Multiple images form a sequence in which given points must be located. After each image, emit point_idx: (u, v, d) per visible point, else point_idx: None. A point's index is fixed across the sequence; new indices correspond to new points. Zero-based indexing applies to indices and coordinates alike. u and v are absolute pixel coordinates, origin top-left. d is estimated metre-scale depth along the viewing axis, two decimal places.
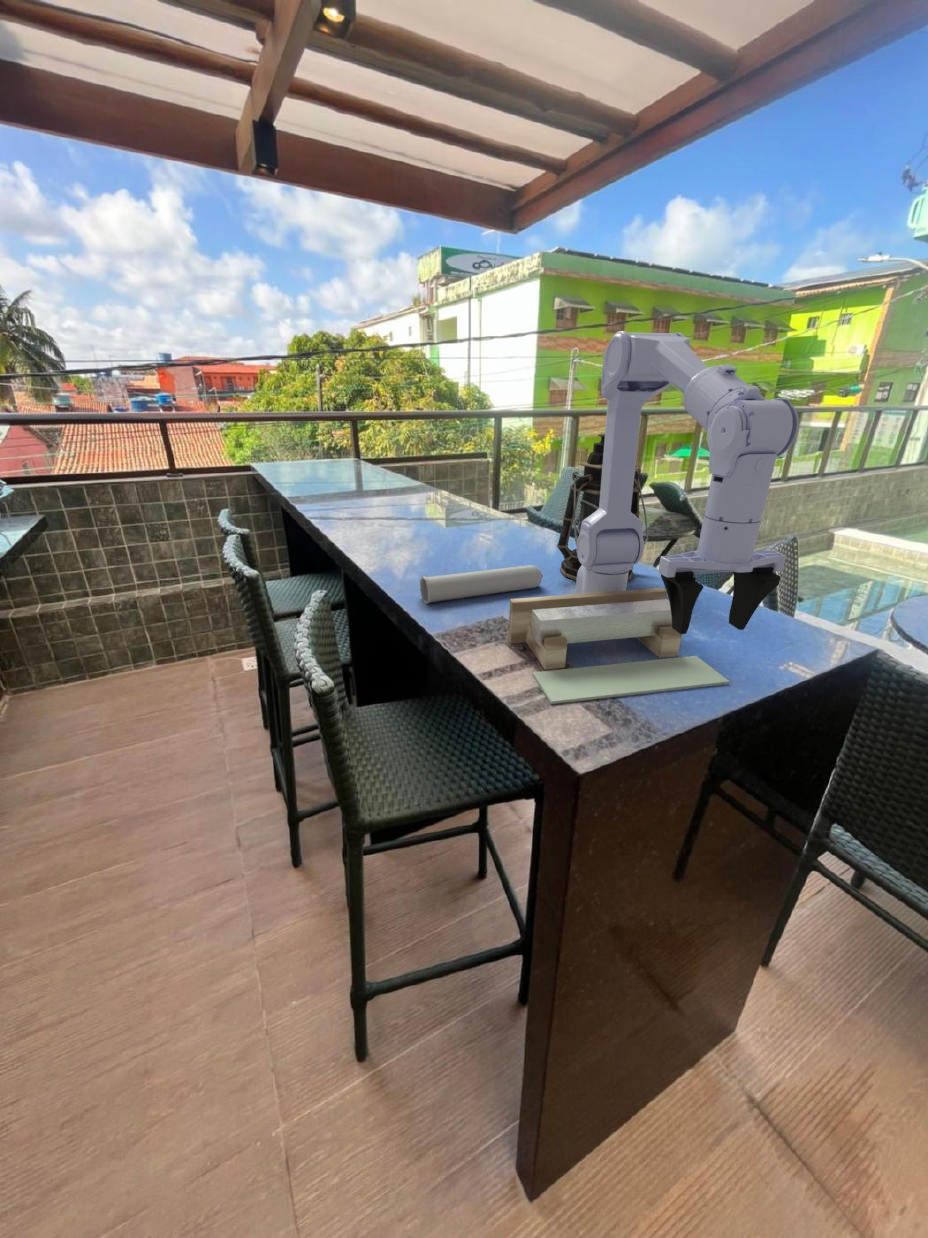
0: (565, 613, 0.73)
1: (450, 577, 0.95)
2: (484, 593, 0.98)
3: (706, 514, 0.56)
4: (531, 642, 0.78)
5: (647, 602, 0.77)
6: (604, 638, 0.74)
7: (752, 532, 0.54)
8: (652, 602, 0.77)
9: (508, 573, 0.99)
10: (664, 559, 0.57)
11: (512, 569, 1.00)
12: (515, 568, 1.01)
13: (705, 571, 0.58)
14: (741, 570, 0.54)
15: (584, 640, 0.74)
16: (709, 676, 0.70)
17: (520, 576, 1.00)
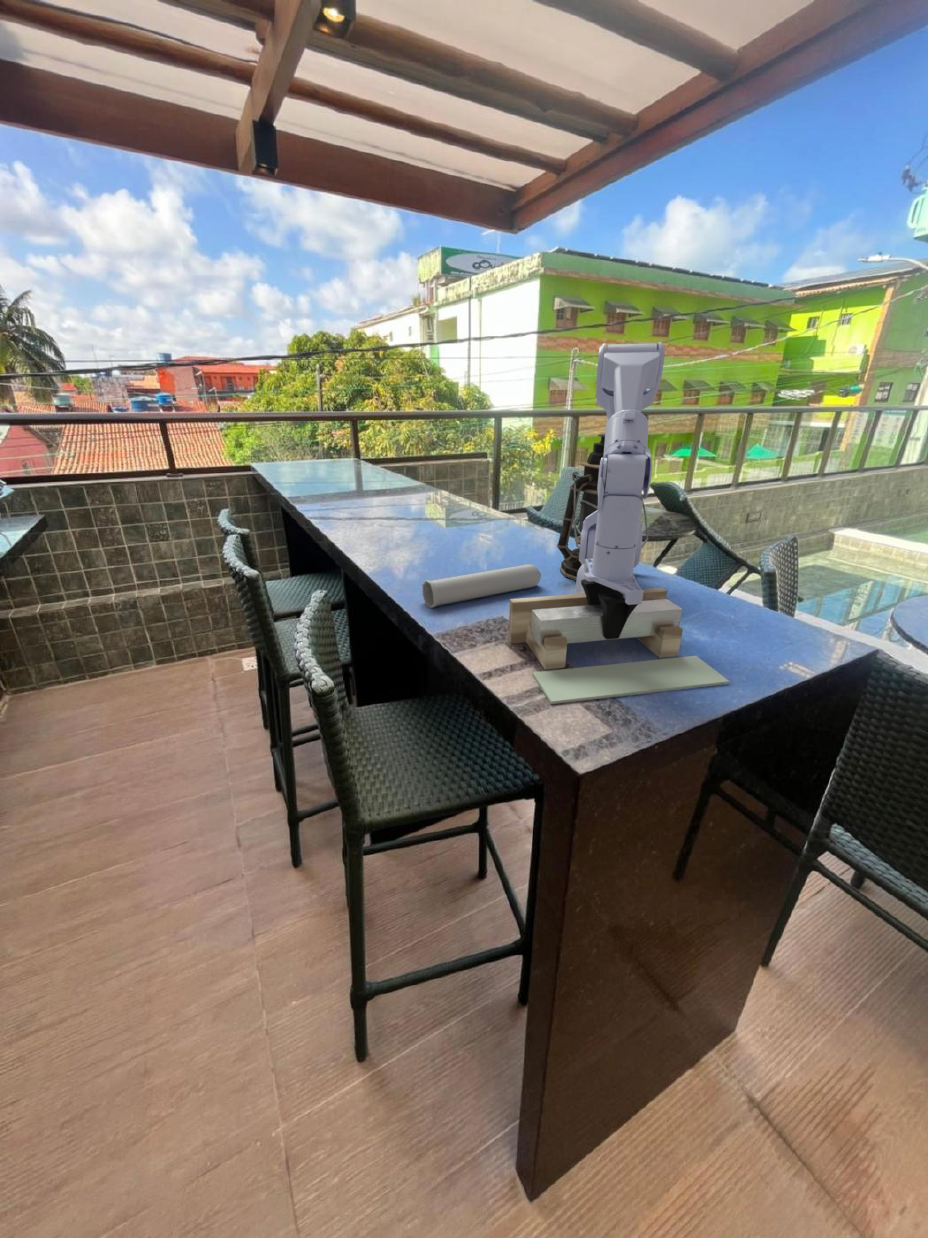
0: (565, 613, 0.73)
1: (454, 580, 0.94)
2: (487, 594, 0.98)
3: None
4: (531, 642, 0.78)
5: (647, 602, 0.77)
6: (604, 638, 0.74)
7: (599, 553, 0.70)
8: (652, 602, 0.77)
9: (509, 573, 0.99)
10: (591, 559, 0.79)
11: (512, 569, 1.00)
12: (515, 568, 1.01)
13: None
14: (583, 576, 0.72)
15: (584, 640, 0.74)
16: (709, 676, 0.70)
17: (520, 576, 1.00)
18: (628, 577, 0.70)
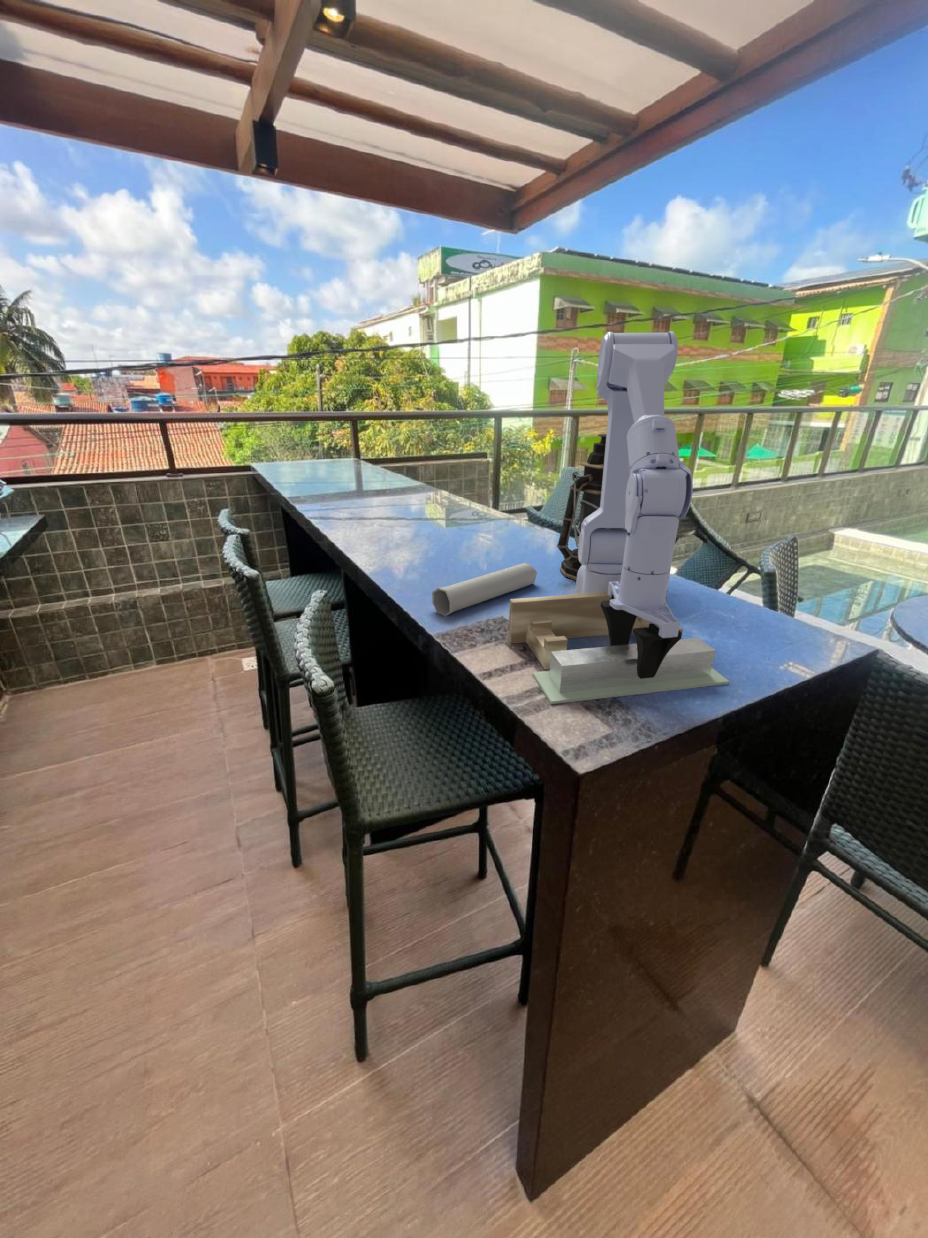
0: (588, 656, 0.67)
1: (465, 585, 0.92)
2: (493, 596, 0.97)
3: None
4: (531, 642, 0.78)
5: None
6: (630, 683, 0.68)
7: (628, 578, 0.63)
8: (682, 642, 0.71)
9: (511, 573, 0.99)
10: (615, 582, 0.72)
11: (512, 569, 1.00)
12: (514, 568, 1.01)
13: None
14: (610, 603, 0.65)
15: (609, 685, 0.67)
16: (709, 676, 0.70)
17: (521, 575, 1.00)
18: (660, 605, 0.63)
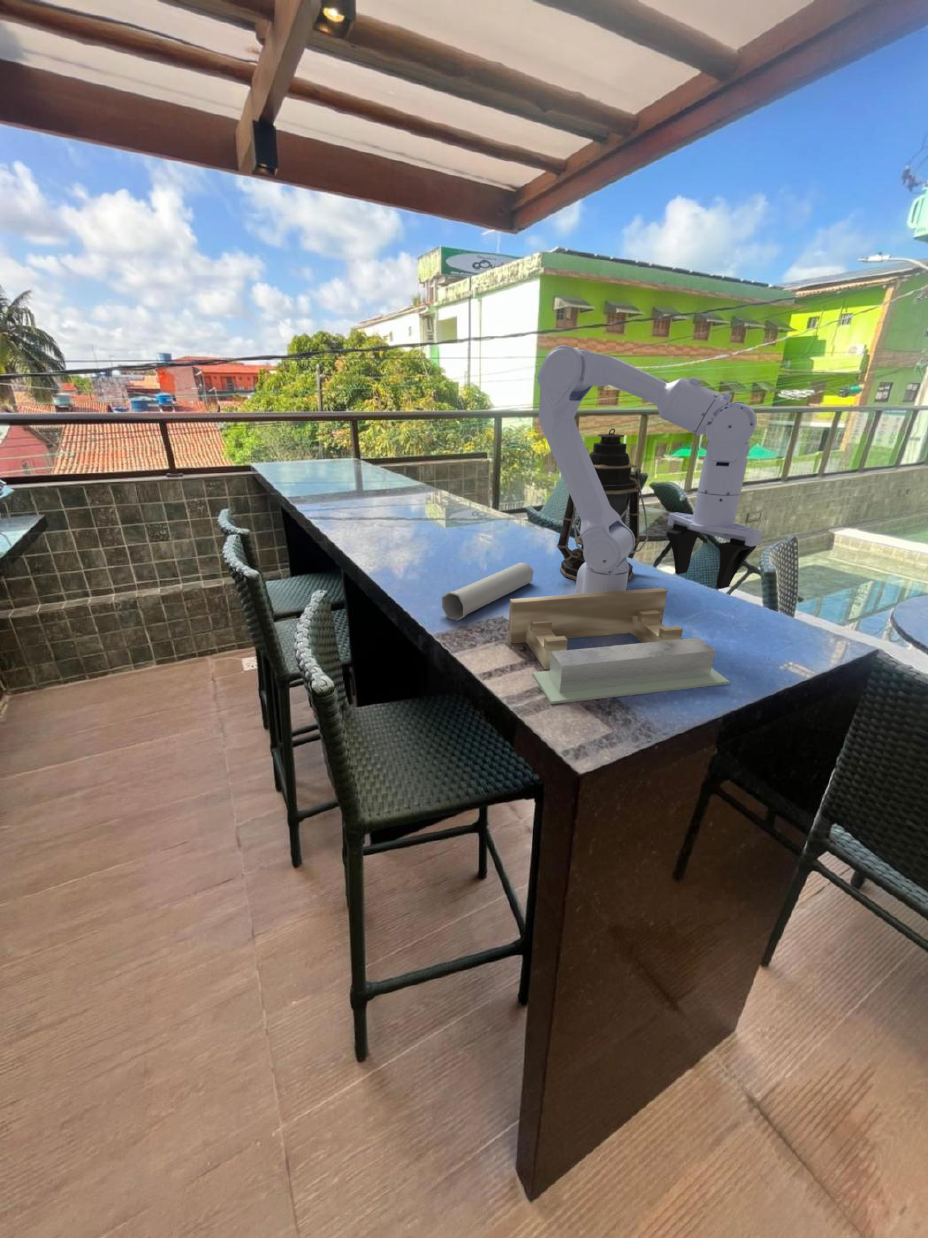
0: (588, 656, 0.67)
1: (474, 587, 0.90)
2: (498, 598, 0.96)
3: (711, 492, 0.72)
4: (531, 642, 0.78)
5: (676, 642, 0.71)
6: (630, 683, 0.68)
7: (710, 501, 0.73)
8: (682, 642, 0.71)
9: (512, 573, 0.99)
10: (673, 513, 0.82)
11: (512, 569, 1.00)
12: (513, 568, 1.01)
13: (697, 530, 0.78)
14: (691, 526, 0.75)
15: (609, 685, 0.67)
16: (709, 676, 0.70)
17: (521, 575, 1.01)
18: (733, 523, 0.74)
